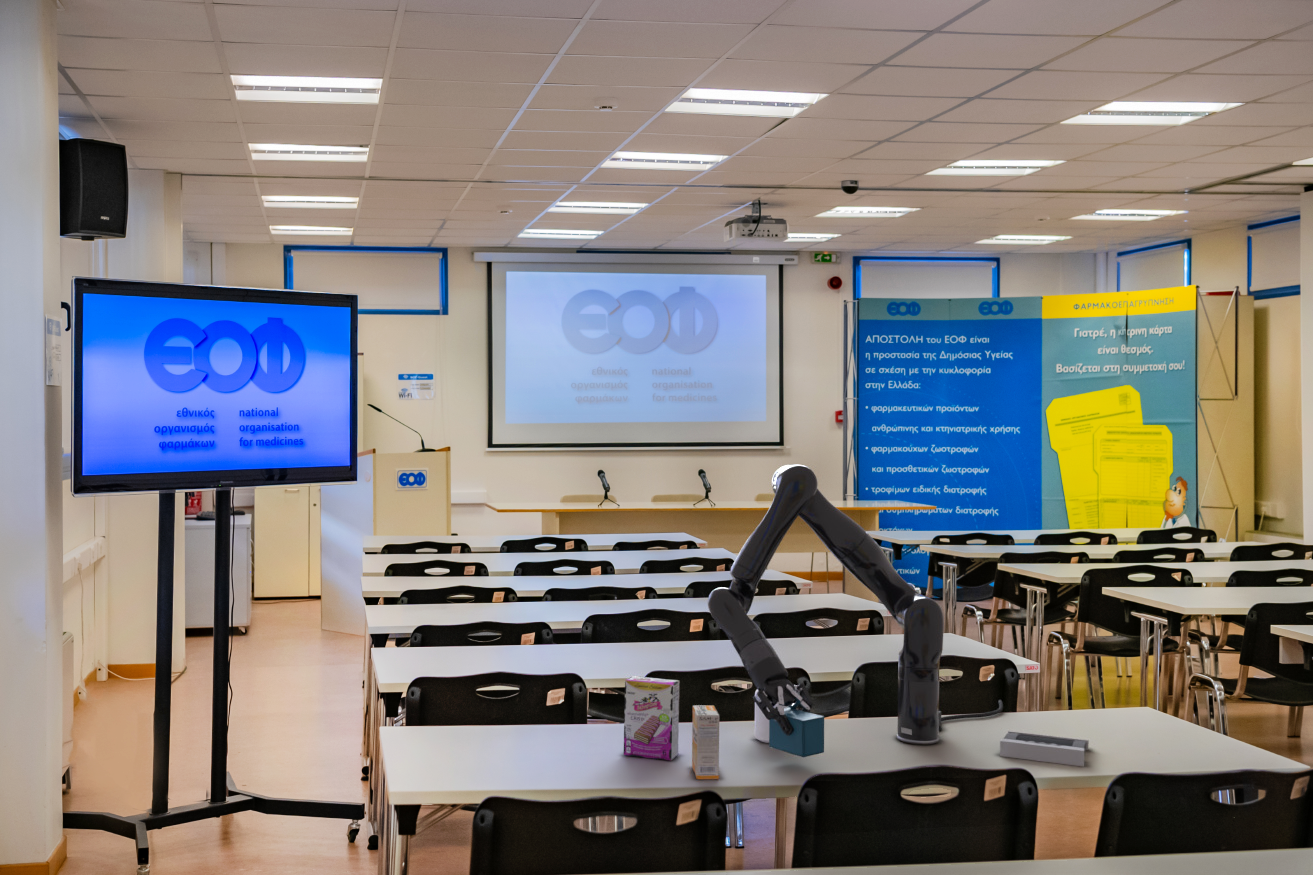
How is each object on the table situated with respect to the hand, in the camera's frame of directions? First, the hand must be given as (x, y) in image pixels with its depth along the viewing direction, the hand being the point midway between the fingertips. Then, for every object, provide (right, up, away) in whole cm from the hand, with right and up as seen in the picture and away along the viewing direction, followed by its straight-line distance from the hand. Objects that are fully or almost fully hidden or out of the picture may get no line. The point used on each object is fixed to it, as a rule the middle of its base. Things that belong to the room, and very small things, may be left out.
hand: (802, 730), depth 230 cm
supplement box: (-21, -8, -6) cm, 23 cm away
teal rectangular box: (-1, -4, +1) cm, 5 cm away
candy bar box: (-32, -7, +7) cm, 33 cm away
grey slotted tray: (+56, -9, +14) cm, 58 cm away
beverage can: (-4, -8, +22) cm, 23 cm away
